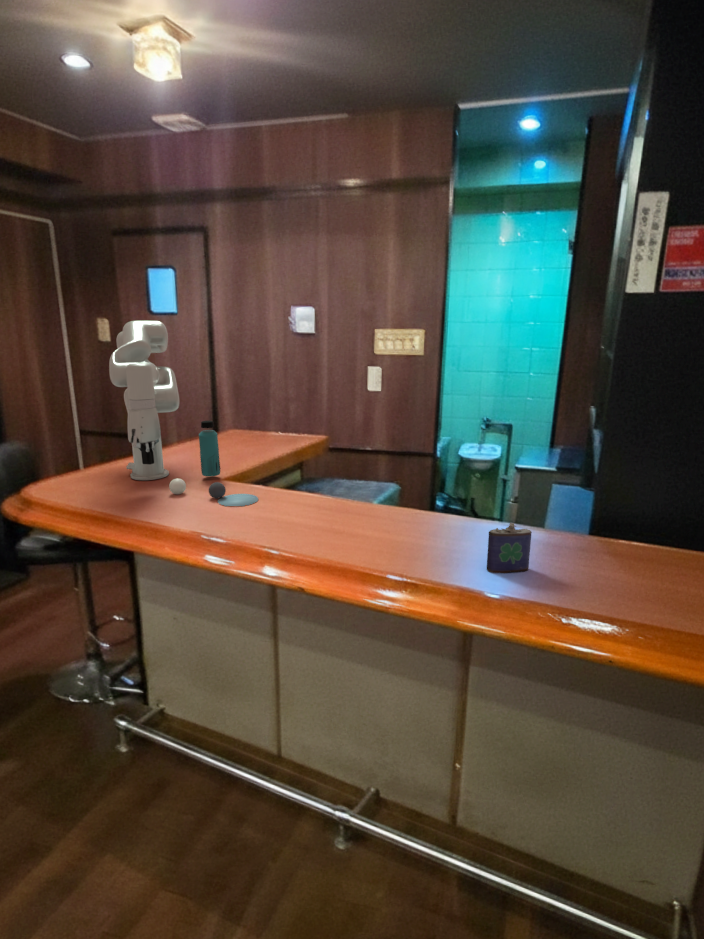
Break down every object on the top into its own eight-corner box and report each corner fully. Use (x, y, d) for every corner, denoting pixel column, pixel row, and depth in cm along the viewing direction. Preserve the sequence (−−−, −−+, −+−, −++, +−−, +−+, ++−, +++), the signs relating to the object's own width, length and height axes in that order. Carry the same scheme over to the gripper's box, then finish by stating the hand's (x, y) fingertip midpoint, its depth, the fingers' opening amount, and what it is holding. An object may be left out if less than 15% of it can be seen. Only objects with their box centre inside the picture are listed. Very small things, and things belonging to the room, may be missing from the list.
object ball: (206, 499, 162) (204, 484, 160) (214, 495, 166) (213, 479, 165) (220, 501, 160) (219, 485, 159) (229, 496, 165) (228, 481, 164)
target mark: (209, 504, 157) (209, 503, 157) (230, 492, 169) (230, 492, 168) (246, 508, 154) (246, 507, 154) (265, 496, 165) (265, 495, 165)
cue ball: (166, 495, 166) (165, 480, 165) (176, 491, 170) (174, 475, 169) (180, 497, 164) (179, 481, 163) (189, 492, 169) (188, 477, 168)
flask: (525, 566, 117) (529, 520, 114) (531, 572, 114) (535, 525, 111) (484, 568, 116) (487, 521, 113) (489, 574, 113) (492, 526, 111)
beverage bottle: (218, 480, 182) (214, 422, 177) (198, 480, 182) (194, 422, 177) (223, 475, 188) (219, 419, 183) (204, 475, 188) (200, 419, 183)
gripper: (148, 402, 171) (153, 458, 175) (114, 407, 157) (121, 468, 161) (168, 402, 169) (173, 459, 173) (136, 408, 155) (142, 469, 159)
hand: (148, 463), depth 167 cm, fingers closed
